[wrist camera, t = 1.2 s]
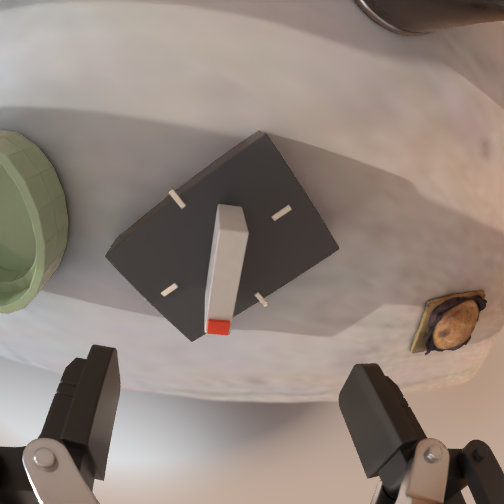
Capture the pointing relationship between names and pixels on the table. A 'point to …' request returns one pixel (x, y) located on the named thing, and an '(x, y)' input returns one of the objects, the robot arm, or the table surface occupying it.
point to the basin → (28, 221)
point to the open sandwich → (448, 322)
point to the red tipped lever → (225, 268)
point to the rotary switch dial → (202, 229)
